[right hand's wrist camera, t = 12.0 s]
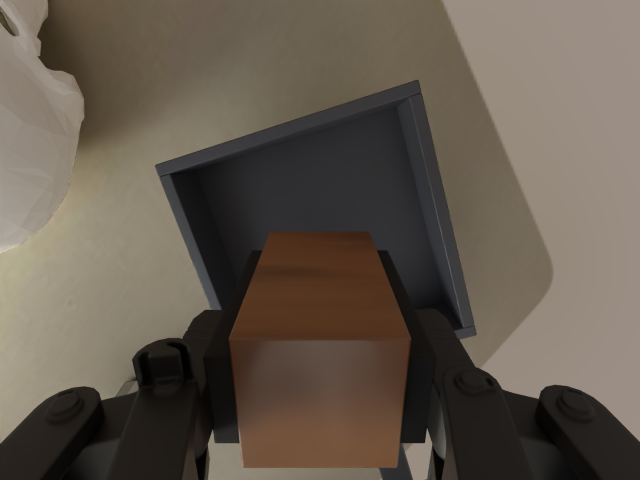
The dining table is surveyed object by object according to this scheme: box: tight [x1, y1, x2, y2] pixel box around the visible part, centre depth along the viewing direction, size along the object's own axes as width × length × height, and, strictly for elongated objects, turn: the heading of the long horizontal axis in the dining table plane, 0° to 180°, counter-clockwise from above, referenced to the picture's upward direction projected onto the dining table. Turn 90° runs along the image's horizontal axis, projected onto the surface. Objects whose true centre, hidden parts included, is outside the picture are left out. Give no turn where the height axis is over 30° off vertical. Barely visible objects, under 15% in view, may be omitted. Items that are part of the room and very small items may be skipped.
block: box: [229, 231, 411, 468], centre depth 12 cm, size 4×4×7 cm
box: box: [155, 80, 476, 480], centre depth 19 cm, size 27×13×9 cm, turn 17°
